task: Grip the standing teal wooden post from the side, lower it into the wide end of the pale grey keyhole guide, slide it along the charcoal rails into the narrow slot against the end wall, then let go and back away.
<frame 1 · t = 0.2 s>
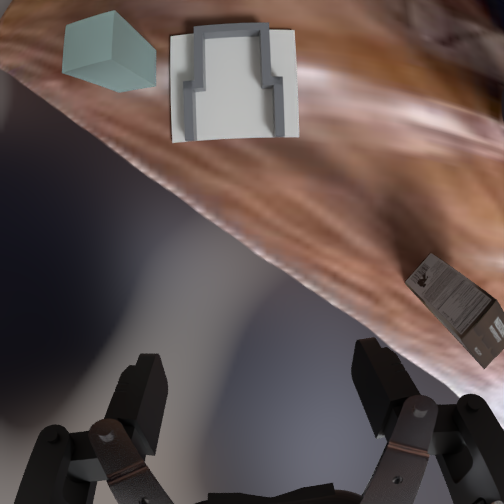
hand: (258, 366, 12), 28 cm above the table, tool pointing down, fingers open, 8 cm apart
keyhole guide: (233, 82, 33), on the table
coffee box: (431, 283, 43), on the table
teal post: (137, 71, 32), on the table
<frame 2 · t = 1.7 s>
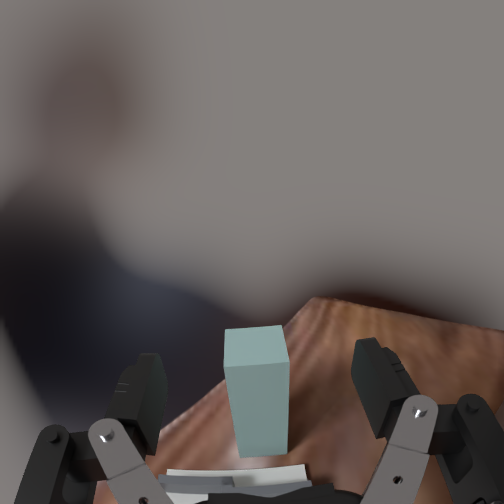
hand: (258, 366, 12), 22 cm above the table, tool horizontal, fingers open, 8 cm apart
teal post: (261, 438, 30), on the table
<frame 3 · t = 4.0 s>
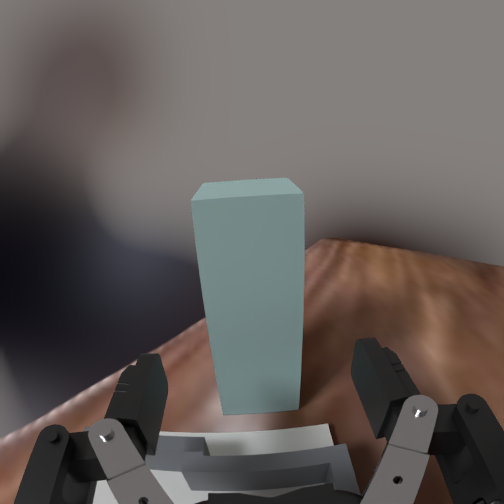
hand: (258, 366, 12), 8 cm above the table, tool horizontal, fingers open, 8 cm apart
teal post: (259, 387, 21), on the table
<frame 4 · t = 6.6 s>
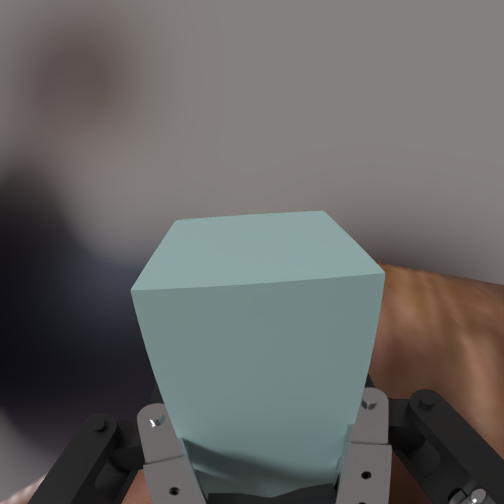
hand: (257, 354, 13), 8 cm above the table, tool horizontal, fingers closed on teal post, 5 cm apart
teal post: (267, 488, 13), on the table, touching gripper
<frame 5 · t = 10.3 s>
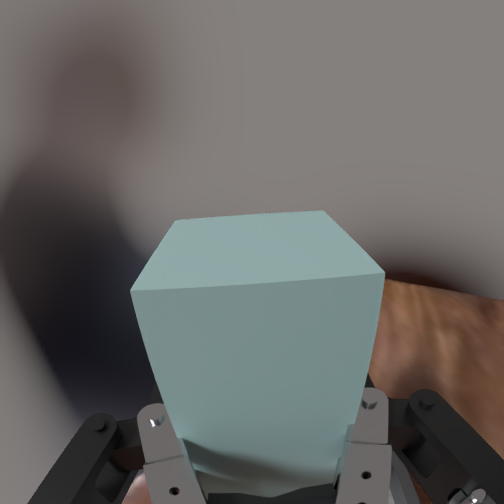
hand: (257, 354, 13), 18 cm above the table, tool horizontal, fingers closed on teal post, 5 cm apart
teal post: (267, 488, 13), point 10 cm above the table, touching gripper
when the fingers open (9 cm above the table, at t = 14.0 s): teal post stays where it is, resting on keyhole guide.
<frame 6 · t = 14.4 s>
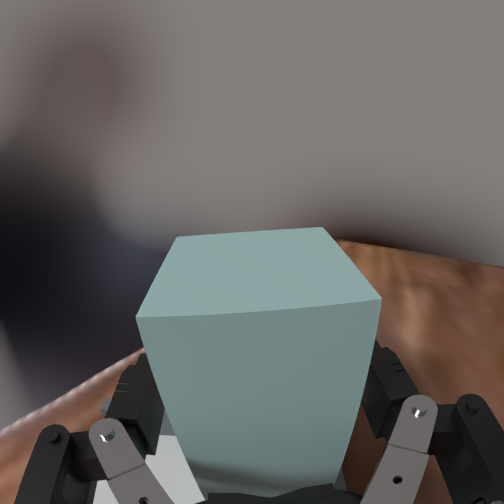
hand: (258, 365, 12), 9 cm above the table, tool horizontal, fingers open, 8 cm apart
keyhole guide: (210, 498, 14), on the table
teal post: (267, 492, 13), point 1 cm above the table, touching keyhole guide
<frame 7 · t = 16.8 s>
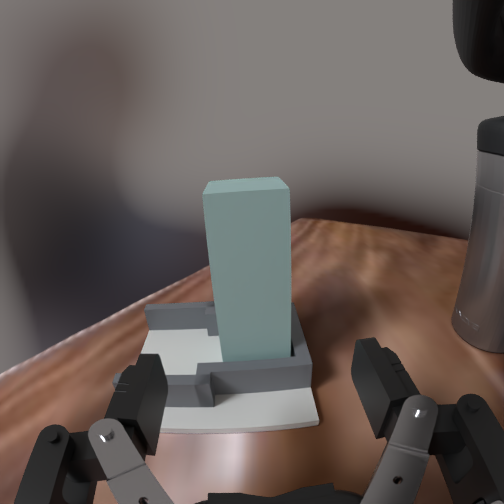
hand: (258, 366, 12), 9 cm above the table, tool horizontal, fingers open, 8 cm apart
keyhole guide: (218, 363, 25), on the table
teal post: (255, 356, 25), point 1 cm above the table, touching keyhole guide
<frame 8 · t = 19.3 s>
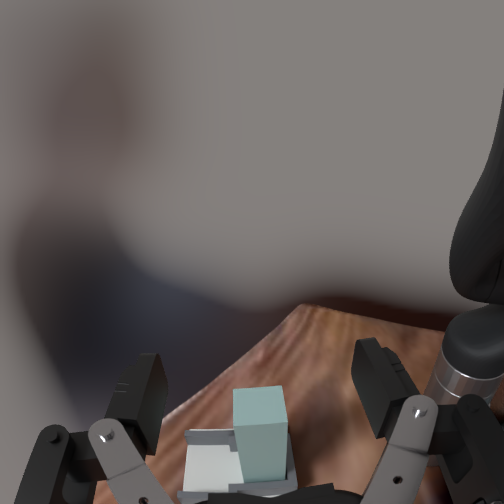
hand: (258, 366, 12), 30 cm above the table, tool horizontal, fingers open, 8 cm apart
keyhole guide: (238, 472, 33), on the table
teal post: (263, 469, 33), point 1 cm above the table, touching keyhole guide
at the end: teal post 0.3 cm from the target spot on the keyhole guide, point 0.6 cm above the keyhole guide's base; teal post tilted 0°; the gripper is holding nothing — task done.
